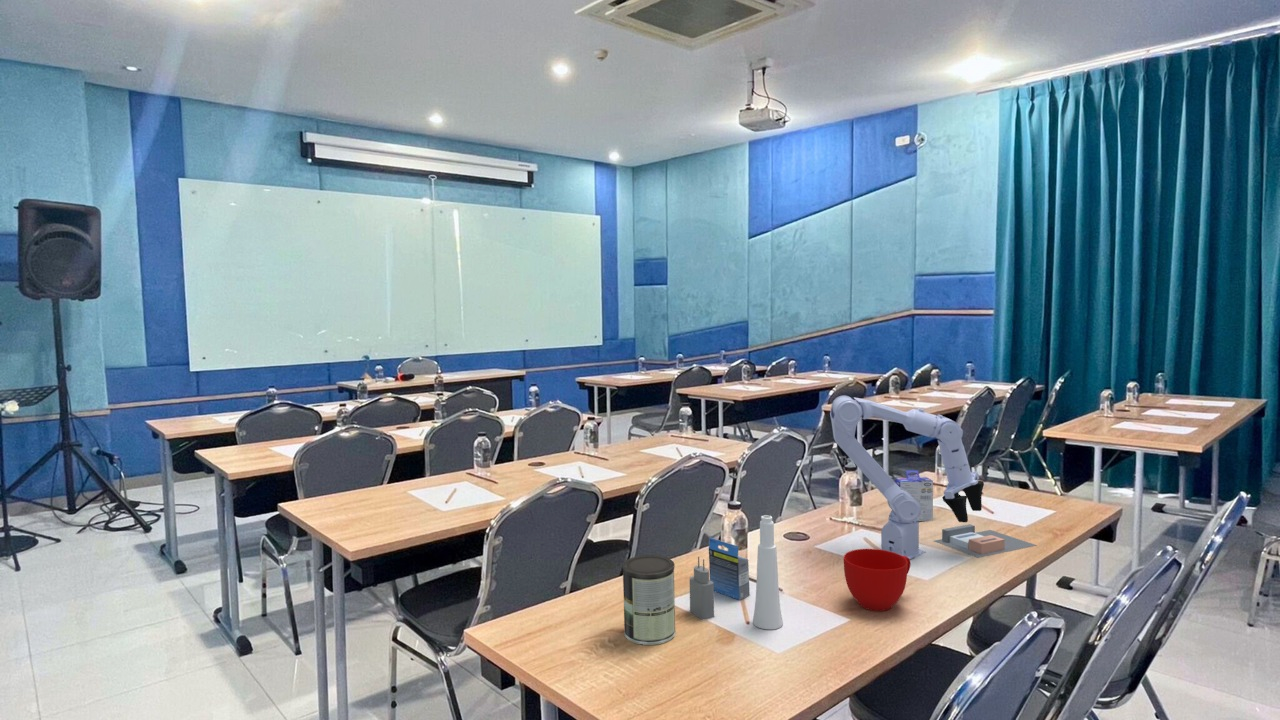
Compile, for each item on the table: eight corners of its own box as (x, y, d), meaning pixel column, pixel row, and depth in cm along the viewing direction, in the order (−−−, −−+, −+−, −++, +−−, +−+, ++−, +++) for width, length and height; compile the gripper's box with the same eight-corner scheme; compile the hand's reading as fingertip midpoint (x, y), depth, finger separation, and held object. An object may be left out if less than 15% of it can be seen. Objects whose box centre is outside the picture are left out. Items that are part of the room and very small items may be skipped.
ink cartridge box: (927, 516, 212) (927, 469, 211) (934, 522, 206) (934, 473, 205) (893, 516, 212) (894, 469, 211) (900, 522, 206) (900, 473, 205)
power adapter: (700, 607, 151) (699, 552, 150) (715, 616, 146) (714, 560, 145) (688, 610, 149) (687, 555, 148) (703, 620, 144) (702, 563, 143)
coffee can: (613, 636, 138) (611, 566, 137) (645, 617, 146) (644, 551, 145) (654, 651, 132) (652, 577, 131) (686, 631, 140) (684, 561, 139)
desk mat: (977, 559, 175) (977, 557, 175) (933, 542, 188) (933, 540, 188) (1037, 546, 183) (1037, 545, 183) (990, 531, 196) (990, 529, 196)
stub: (981, 554, 177) (981, 543, 177) (968, 549, 181) (968, 539, 181) (1004, 549, 181) (1004, 539, 180) (991, 544, 184) (991, 534, 184)
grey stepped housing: (964, 549, 181) (965, 537, 181) (942, 541, 188) (942, 529, 188) (993, 543, 185) (993, 531, 185) (969, 535, 192) (969, 524, 192)
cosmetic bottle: (775, 632, 138) (774, 522, 136) (747, 625, 141) (746, 518, 140) (787, 621, 143) (786, 515, 141) (760, 614, 146) (759, 510, 145)
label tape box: (750, 595, 156) (749, 541, 155) (738, 601, 153) (738, 546, 152) (720, 585, 162) (719, 533, 162) (708, 590, 160) (707, 537, 159)
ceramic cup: (933, 604, 149) (934, 558, 149) (877, 623, 141) (877, 574, 140) (885, 584, 161) (885, 541, 160) (830, 600, 152) (830, 555, 152)
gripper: (957, 474, 170) (972, 527, 170) (984, 454, 179) (998, 505, 179) (930, 474, 175) (945, 526, 176) (958, 456, 184) (971, 505, 185)
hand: (970, 516), depth 178 cm, fingers open, 7 cm apart
